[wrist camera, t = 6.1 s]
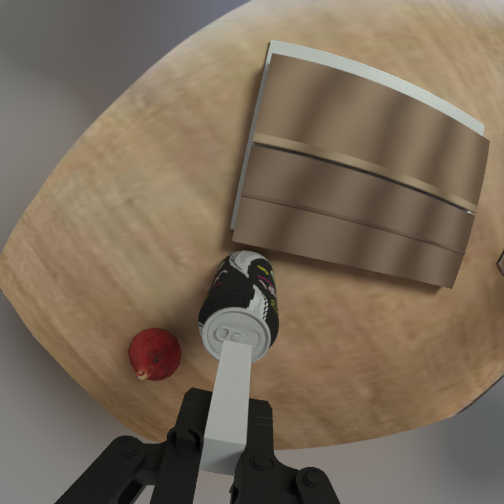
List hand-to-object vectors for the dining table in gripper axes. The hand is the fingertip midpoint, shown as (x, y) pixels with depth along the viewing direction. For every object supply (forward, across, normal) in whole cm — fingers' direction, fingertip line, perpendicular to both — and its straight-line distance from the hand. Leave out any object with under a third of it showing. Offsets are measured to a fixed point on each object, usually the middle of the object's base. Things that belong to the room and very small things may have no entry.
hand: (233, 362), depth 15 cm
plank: (+14, +11, +17) cm, 25 cm away
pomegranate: (+15, -8, -11) cm, 20 cm away
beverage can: (+15, 0, 0) cm, 15 cm away
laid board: (+15, +11, +8) cm, 20 cm away
